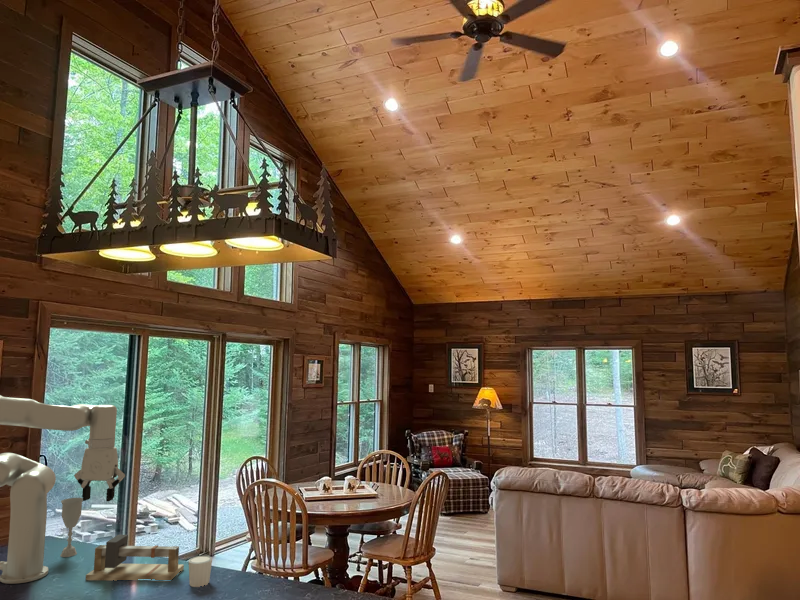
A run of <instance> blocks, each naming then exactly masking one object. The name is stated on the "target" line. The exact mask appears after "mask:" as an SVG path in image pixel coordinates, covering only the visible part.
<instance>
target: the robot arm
mask: <svg viewBox="0 0 800 600" xmlns="http://www.w3.org/2000/svg"><path fill="white" fill-rule="evenodd" d="M117 412H118V410H117V407H116V406H115V405H114V404H98V405H93V404H84V403H79V404H74V405H71V406H69V405H56V404H48V403H47V404H46V403H43V402H38V401H37V400H35V399H33V398H32V399H31V398H24V397H22V398H20V397H8V396H3V395H1V394H0V425H2V426H13V427H14V426H16V427H25V428H33V429H41V430H48V431H49V430H50V431H51V430H53V431H64V432H65V431H67V432H69V431H70V432H72V431H73V432H74V431H77V430H79V429H81V428H85V427H89V435H88V436H89V437H88V438H87V439H85V441H84V444H85V445H87V448H85V450H84V453H83V456H82V462H81V468H80V469H79V470H78V471H76V473H75V474H74V475H73V476H74V478H75V479H76V481H77V483H78V484H79V485H80V487H81V489H82V493H81V494H82V495H81V498H83V502H85V501H88V500H90V499H91V493H92V492H91V491H92V486H90V484H91V483H92V482H95V481H97V482H105V481H106V484H107V487H108V488H107V489H106V500H105V501H106V502H110V501H112V500H114V497H115V493H116V492H115V491H116V487H117V486H118V485H119V484H120V482H121V481H123V479H124V478H126V474H125V473H124V472H123V471H122V470H121V469H120V468H119V458H118V456H119V455H118V449H117V447H116V446H115V445H116V443H115V442H116V429H117V428H116V426H117V415H118V414H117ZM56 477H57V476H56V474H55V472H54V471H53V469H52V468H51V467H49V466H47V465H45V464H42V463H40V462H38V461H35V460H32V459H30V458H27V457H25V456H23V455H20V454H17V453H13V452H2V453H0V488H1V487H4V486H5V485H6V486H8V487H10V491H9V492H10V493H9V494H10V495H9V500H10V518H9V519H10V520H9V531H8V544H7V545H8V547H7V558H6V559H7V560H6V561H0V571H1V572H2V573H1V574H0V582H1V583H2V584H8V585H9V584H10V585H15V584H24V583H29V582H33V581H36V580H37V581H38V580H40V579H43V578H44V577H45V576H47V575H48V573H49V567H48V566H46V565H44V560H45V559H44V558H45V545H46V544H45V543H46V529H47V516H48V515H47V513H48V503H47V499H48V498H47V497H48V493H49V492H50V491H51V490H52V489H53V488H54V486H55V484H56V480H57V479H56ZM116 477H117V478H116ZM115 478H116V479H115Z"/></svg>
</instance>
